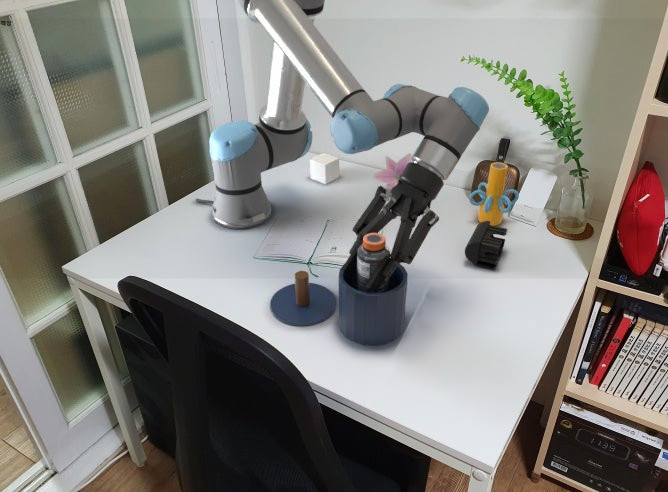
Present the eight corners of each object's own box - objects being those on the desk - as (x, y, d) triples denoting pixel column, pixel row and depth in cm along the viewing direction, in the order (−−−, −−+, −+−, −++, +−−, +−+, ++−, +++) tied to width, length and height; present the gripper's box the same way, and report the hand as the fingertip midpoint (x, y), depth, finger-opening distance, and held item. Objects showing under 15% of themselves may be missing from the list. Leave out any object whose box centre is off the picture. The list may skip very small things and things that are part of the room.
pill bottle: (388, 279, 108) (391, 229, 101) (388, 299, 103) (391, 247, 96) (357, 278, 108) (358, 228, 101) (355, 297, 104) (356, 246, 97)
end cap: (473, 242, 135) (477, 217, 131) (503, 249, 132) (508, 224, 128) (462, 264, 127) (466, 238, 123) (494, 271, 125) (499, 246, 121)
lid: (258, 317, 114) (254, 285, 109) (289, 281, 124) (287, 249, 119) (318, 335, 109) (317, 302, 104) (346, 296, 119) (346, 264, 114)
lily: (366, 193, 158) (371, 173, 149) (384, 164, 162) (390, 143, 154) (404, 213, 156) (411, 194, 147) (421, 182, 161) (430, 162, 152)
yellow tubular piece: (502, 236, 136) (513, 180, 127) (461, 225, 141) (469, 170, 132) (517, 215, 145) (528, 160, 136) (478, 205, 149) (486, 152, 140)
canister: (328, 336, 109) (327, 285, 101) (353, 299, 118) (354, 249, 110) (390, 355, 104) (394, 302, 97) (411, 315, 113) (416, 264, 106)
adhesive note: (310, 178, 164) (309, 159, 161) (324, 171, 168) (323, 152, 164) (325, 184, 161) (325, 164, 157) (339, 177, 164) (339, 158, 161)
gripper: (477, 198, 97) (405, 311, 99) (398, 164, 109) (335, 265, 110) (461, 180, 91) (385, 300, 93) (379, 145, 103) (313, 252, 105)
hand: (358, 281), depth 102 cm, fingers closed on pill bottle, 6 cm apart
